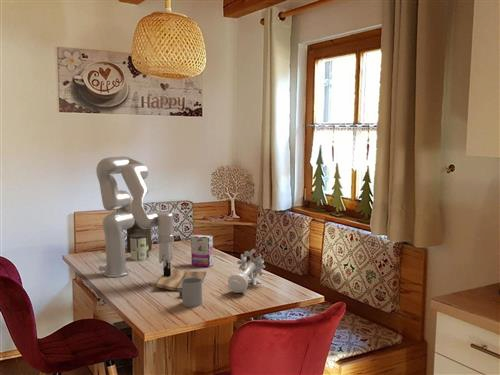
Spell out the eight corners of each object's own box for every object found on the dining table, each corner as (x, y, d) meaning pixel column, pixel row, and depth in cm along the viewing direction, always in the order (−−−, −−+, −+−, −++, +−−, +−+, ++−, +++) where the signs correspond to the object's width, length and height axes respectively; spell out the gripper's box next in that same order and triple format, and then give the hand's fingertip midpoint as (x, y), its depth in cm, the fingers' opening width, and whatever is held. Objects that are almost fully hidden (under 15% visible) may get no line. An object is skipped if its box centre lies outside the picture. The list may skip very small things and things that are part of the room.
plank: (156, 286, 238) (156, 283, 238) (168, 270, 266) (168, 267, 265) (175, 290, 238) (175, 287, 237) (185, 274, 265) (185, 271, 265)
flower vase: (246, 309, 232) (266, 280, 254) (248, 274, 225) (269, 248, 246) (220, 300, 237) (242, 273, 258) (221, 266, 229) (244, 241, 251)
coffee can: (139, 256, 306) (138, 232, 304) (152, 258, 300) (152, 234, 299) (126, 259, 297) (125, 235, 295) (140, 262, 291) (139, 237, 290)
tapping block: (184, 298, 227) (184, 292, 227) (179, 296, 230) (179, 290, 230) (199, 295, 233) (199, 288, 232) (193, 293, 236) (193, 286, 235)
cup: (183, 300, 224) (182, 278, 223) (202, 299, 225) (201, 277, 224) (182, 307, 216) (181, 283, 215) (202, 306, 216) (201, 283, 215)
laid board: (176, 291, 238) (176, 287, 237) (186, 274, 265) (186, 271, 265) (198, 291, 237) (198, 287, 237) (205, 274, 265) (205, 271, 265)
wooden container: (156, 248, 324) (155, 213, 322) (142, 253, 311) (141, 217, 309) (136, 246, 330) (135, 212, 328) (122, 251, 317) (120, 216, 315)
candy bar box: (213, 265, 283) (213, 235, 281) (209, 267, 279) (209, 237, 277) (195, 263, 287) (194, 234, 286) (191, 265, 283) (190, 235, 281)
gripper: (161, 235, 257) (162, 271, 259) (154, 241, 242) (156, 280, 244) (176, 235, 257) (177, 271, 258) (170, 241, 242) (172, 280, 244)
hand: (167, 275), depth 251 cm, fingers closed
